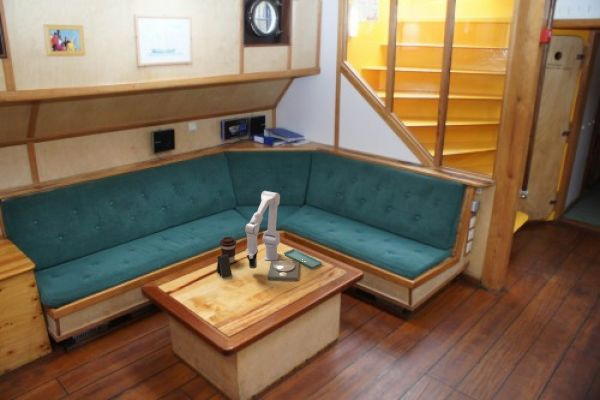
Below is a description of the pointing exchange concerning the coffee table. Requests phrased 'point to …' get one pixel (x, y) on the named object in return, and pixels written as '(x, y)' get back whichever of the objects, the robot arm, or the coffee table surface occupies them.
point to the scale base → (283, 273)
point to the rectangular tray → (299, 256)
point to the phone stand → (224, 266)
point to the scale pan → (284, 265)
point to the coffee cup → (228, 247)
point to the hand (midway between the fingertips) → (252, 264)
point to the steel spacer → (254, 265)
